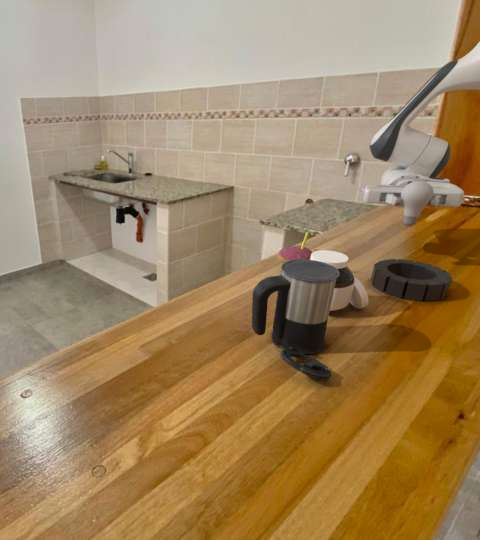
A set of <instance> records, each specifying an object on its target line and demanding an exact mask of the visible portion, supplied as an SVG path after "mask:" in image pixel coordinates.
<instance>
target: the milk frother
mask: <svg viewBox="0 0 480 540" xmlns="http://www.w3.org/2000/svg"><path fill="white" fill-rule="evenodd" d="M280 269H281V271H282V273H281V275H273V276H267V277H265V278H263V279H261V280H260V281H259V282H258V283H256V285H255V287H254V288H253V290H252V301H251V303H252V304H251V328H252V330H253V331H254V333H255V334H256V335H258V336H263V335H265V333H266V330H267V329H266V328H267V318H268V317H267V316H268V302H269V298H270V297H271V295H272V294H274V293H277V297H276V303H275V308H274V316H273V321H272V331H271V339H272V341H273V343H275V345H277V346H278V347H279V348H281V349H283V350H281V352H280V353H279V354H280V355H279V356H280V358H281V359H282V360H283V361H284V362H285V363H286V364H287V365H288V366H290V367H292V369H295V370H296V371H298V372H300V373H301V374H304V375H306V376H308V377H311V378H314V379H317V380H320V381H326V380H330V379H331V377H332V371H331V368H330V367H327V366H326V365H325V364H324V363H323V362H321V361H320V360H318V359H316V358H314V357H312V356H309V355H314V354H317V353H320V352H321V351H323V350H324V349H325V347H326V342H325V339H326V331H327V327H328V321H329V316H330V314H329V312H330V307H331V302H332V297H333V292H334V287H335V282H336V278H337V277H338V276H339V271H338V270H337V268H335V267H333V266H331V265H329V264H326V263H323V262H320V261H315V260H305V259H302V260H290V261H287V262H285V263H283V264H282V263H281V266H280ZM293 358H297V359H300V360H303V361H306V362H305V363H303V362H300V363H299V362H298V361H296V360H295V359H293Z"/></svg>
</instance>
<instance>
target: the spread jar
mask: <svg viewBox="0 0 480 540" xmlns="http://www.w3.org/2000/svg"><path fill="white" fill-rule="evenodd" d="M312 252H313V253H312V254H311V258H310V260H315V261H320V262H323V263H326V264H329V265H331V266H333V267H335V268H337V270H338V271H339V276H338V277H337V278H336V282H335V287H334V292H333V297H332V302H331V307H330V312H329V315H332V314H335V313H338V312H340V311H343V310H344V309H345V308H346V307H348V306H349V304H351V306H352V307H354V308H356V309H362V308H366V307H368V305H369V296H368V293H367V290H366V288H365V287H364V285H363V284H362V282H361V281H360V280H359V279H358V278H357V277H356V276H354V274H353V272H352V270H351V269H350V267H348V264H349V256H348V255H346V254H345V253H342V252H339V251H335V250H326V249H325V250H324V249H323V250H322V249H321V250H320V249H319V250H316V251H315V250H314V251H312Z"/></svg>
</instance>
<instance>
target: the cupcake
mask: <svg viewBox="0 0 480 540" xmlns="http://www.w3.org/2000/svg"><path fill="white" fill-rule="evenodd" d="M309 235H310V229H308V230H307V231H306V232H305V235H304V238H303V241H302V244H301V245H289V246H286V247H283V248H282V249H280V250H279V252H278V254H277V258H278V261H279V262H280V263H281V265H282V264H283V263H285V262H287V261H290V260H302V259H305V260H310V258H311V254H312V253H313V252H314V251H312V250H311V249H309V248H307V247H306V244H307V241H308V237H309Z"/></svg>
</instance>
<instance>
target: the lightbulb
mask: <svg viewBox="0 0 480 540" xmlns="http://www.w3.org/2000/svg"><path fill="white" fill-rule="evenodd" d="M433 194H434V191H433V188H432V186H431V185H430V184H428V183H427V182H424V181H414V182H411V183H409V184H408V185H406V186H405V187H404V188H403V190H402V192H401V198H402V202H403V204H404V208H403V221H402V223H403V224H404V225H405V226H406V227H412V226H415V225H416V224H417V221H418V218H419V217H420V216H421V213H422V211H423V209H424V208H425V207H426V206H425V205H426V204H428V202H429V201H430V200H431V199H432V197H433Z"/></svg>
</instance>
